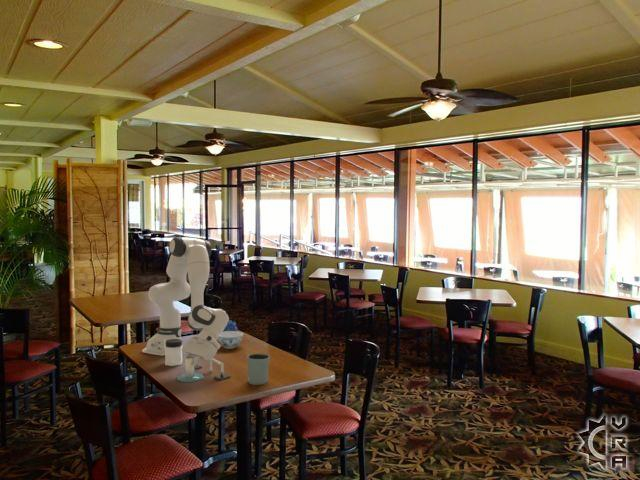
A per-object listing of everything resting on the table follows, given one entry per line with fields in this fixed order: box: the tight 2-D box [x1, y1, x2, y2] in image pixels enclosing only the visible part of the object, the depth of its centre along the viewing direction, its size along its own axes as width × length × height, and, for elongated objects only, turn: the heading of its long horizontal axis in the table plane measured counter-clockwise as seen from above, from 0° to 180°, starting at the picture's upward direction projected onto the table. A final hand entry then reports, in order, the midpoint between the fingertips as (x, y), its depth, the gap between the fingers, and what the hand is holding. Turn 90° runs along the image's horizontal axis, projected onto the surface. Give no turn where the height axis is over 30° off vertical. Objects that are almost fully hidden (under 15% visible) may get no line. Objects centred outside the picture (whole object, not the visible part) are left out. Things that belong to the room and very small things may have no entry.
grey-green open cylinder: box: [246, 352, 270, 386], centre depth 232 cm, size 10×10×12 cm
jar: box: [164, 338, 183, 367], centre depth 259 cm, size 9×8×12 cm
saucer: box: [176, 372, 204, 383], centre depth 236 cm, size 12×12×1 cm
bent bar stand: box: [192, 356, 231, 382], centre depth 244 cm, size 27×6×7 cm, turn 50°
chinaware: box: [217, 330, 244, 350], centre depth 292 cm, size 15×15×8 cm
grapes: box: [223, 319, 238, 332], centre depth 309 cm, size 12×7×12 cm, turn 116°
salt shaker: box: [184, 356, 196, 378], centre depth 236 cm, size 4×4×9 cm
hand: (189, 363), depth 236 cm, fingers open, 5 cm apart
